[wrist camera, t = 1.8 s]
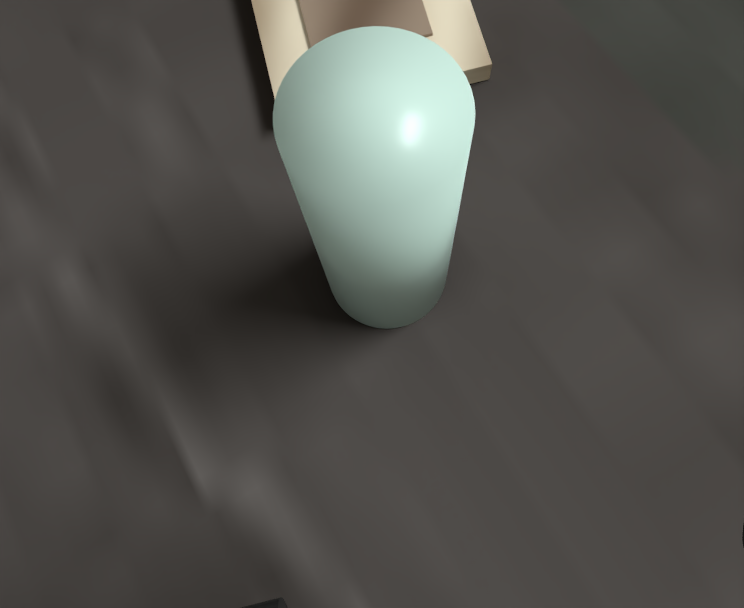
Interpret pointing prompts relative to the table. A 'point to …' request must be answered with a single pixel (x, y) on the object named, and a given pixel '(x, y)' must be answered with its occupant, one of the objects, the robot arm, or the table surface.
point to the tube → (378, 165)
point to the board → (364, 9)
